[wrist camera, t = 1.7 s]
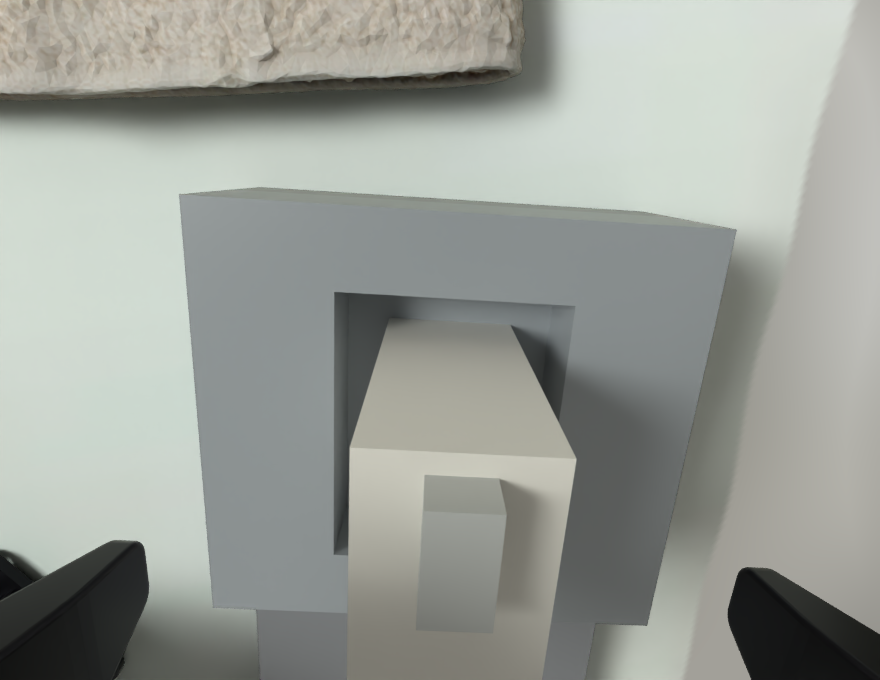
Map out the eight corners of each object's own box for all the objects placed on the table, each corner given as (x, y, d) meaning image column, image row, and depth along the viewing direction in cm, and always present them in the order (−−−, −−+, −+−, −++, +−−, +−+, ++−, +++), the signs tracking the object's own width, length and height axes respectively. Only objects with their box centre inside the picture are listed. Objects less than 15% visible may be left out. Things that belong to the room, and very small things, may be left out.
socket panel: (555, 721, 21) (589, 878, 17) (279, 711, 21) (234, 868, 16) (642, 211, 15) (736, 229, 11) (260, 187, 15) (178, 194, 10)
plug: (493, 482, 15) (547, 764, 8) (383, 476, 15) (337, 757, 8) (509, 324, 13) (594, 494, 6) (389, 317, 13) (339, 481, 6)
